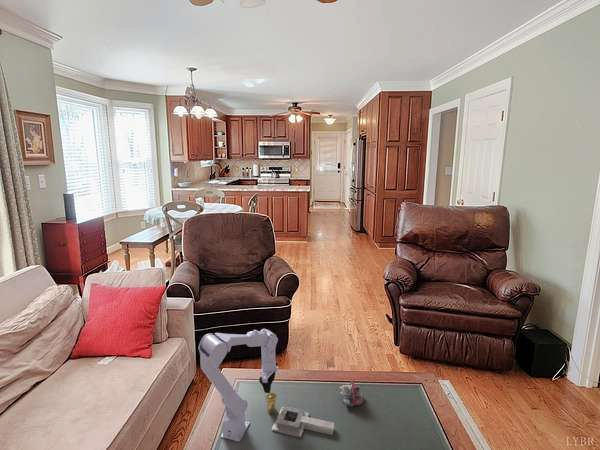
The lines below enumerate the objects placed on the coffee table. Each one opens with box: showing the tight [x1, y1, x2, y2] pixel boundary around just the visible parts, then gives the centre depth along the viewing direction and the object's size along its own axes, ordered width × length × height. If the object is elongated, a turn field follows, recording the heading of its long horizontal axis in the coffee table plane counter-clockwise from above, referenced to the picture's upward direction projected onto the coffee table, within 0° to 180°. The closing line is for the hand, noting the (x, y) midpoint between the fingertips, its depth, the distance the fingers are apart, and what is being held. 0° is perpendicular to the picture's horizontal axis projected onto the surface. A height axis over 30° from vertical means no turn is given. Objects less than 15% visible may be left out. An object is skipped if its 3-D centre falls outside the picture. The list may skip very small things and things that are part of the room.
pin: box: [265, 392, 277, 414], centre depth 148 cm, size 4×4×7 cm
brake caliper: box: [339, 378, 364, 407], centre depth 153 cm, size 11×11×12 cm
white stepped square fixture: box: [271, 405, 335, 438], centre depth 140 cm, size 12×24×3 cm, turn 73°
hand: (269, 386), depth 148 cm, fingers open, 7 cm apart
